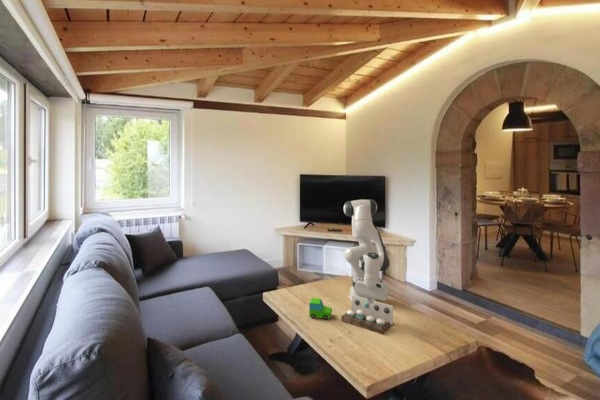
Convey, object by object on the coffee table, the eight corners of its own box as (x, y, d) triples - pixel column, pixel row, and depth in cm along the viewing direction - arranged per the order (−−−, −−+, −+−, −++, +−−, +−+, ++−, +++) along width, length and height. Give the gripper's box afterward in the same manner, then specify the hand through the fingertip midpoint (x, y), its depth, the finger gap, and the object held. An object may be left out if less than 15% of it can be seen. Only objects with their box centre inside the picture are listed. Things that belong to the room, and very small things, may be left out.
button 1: (349, 316, 215) (349, 309, 215) (356, 318, 213) (356, 311, 212) (345, 318, 212) (345, 311, 211) (352, 320, 209) (352, 314, 208)
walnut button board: (349, 315, 218) (349, 310, 218) (390, 327, 202) (390, 322, 202) (341, 321, 211) (341, 316, 210) (383, 334, 194) (383, 329, 194)
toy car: (330, 321, 211) (330, 305, 210) (309, 319, 213) (309, 303, 212) (332, 314, 221) (332, 298, 220) (311, 312, 223) (311, 297, 222)
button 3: (368, 321, 208) (368, 314, 207) (375, 324, 205) (375, 316, 204) (364, 324, 204) (364, 317, 203) (372, 327, 201) (372, 319, 201)
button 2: (358, 315, 211) (358, 308, 211) (365, 317, 209) (366, 310, 208) (354, 318, 208) (355, 311, 207) (362, 320, 205) (362, 313, 204)
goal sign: (353, 312, 223) (353, 294, 222) (393, 324, 207) (394, 305, 205) (350, 314, 220) (350, 296, 218) (391, 326, 204) (391, 307, 202)
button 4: (378, 324, 204) (378, 317, 203) (386, 327, 201) (386, 319, 200) (374, 327, 200) (375, 320, 200) (382, 330, 197) (382, 323, 197)
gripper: (353, 278, 205) (352, 300, 207) (385, 286, 193) (384, 310, 195) (358, 275, 210) (357, 296, 212) (390, 283, 198) (388, 306, 200)
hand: (370, 303), depth 204 cm, fingers closed
